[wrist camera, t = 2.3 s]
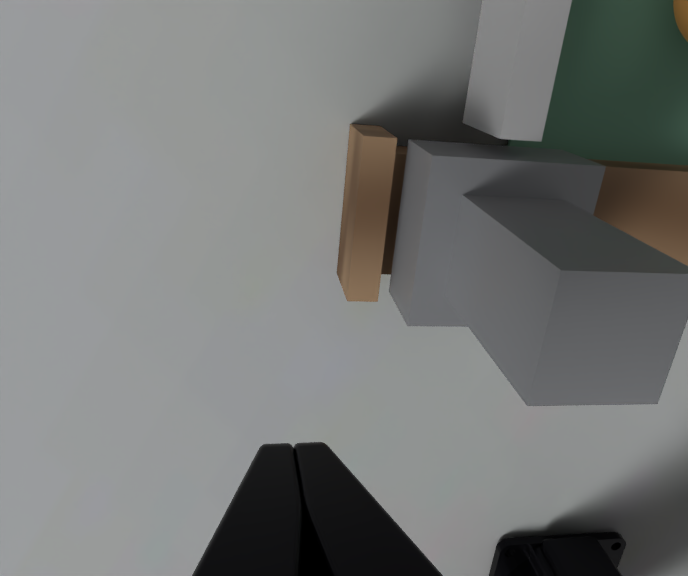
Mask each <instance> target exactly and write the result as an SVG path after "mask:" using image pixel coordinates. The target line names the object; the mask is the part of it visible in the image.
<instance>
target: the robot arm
mask: <svg viewBox="0 0 688 576" xmlns="http://www.w3.org/2000/svg"><path fill="white" fill-rule="evenodd" d="M625 545H626V542H625V540H624V539H623V538H622V536H621V535H620V534H619V533H617V532H609V533H591V534H573V535H556V536H538V537H521V538H507V539H503V540H502V541H500V542H499V543H498V544H497V546H496V550H495V554H494V558H493V562H492V566H491V570H490V574H489V576H622V575H621V573H620V572H619V571H618V569H617V567H618V564H619V562H620V559H621V556H622V554H623V551H624V548H625ZM192 576H443V575H442V574H441V573H440V572H439V571H438V570H437V569H436V567H435V566H434V565H433V564H432V563H431V562H430V561H429V560H428V558H427V557H426V556H425V555H424V554H423V553H422V552H421V550H420V549H419V548H418V547H417V546H416V545H415V544H414V543H413V541H412V540H411V539H410V538H409V537H408V536H407V535H406V534H405V532H404V531H403V530H402V529H401V528H400V527H399V526H398V525H397V523H396V522H395V521H394V520H393V519H392V518H391V517H390V515H389V514H388V513H387V512H386V511H385V510H384V509H383V508H382V506H381V505H380V504H379V503H378V502H377V501H376V500H375V499H374V497H373V496H372V495H371V494H370V493H369V492H368V491H367V490H366V488H365V487H364V486H363V485H362V484H361V483H360V482H359V480H358V479H357V478H356V477H355V476H354V475H353V474H352V473H351V471H350V470H349V469H348V468H347V467H346V466H345V465H344V464H343V462H342V461H341V460H340V459H339V458H338V457H337V456H336V455H335V453H334V452H333V451H332V450H331V449H330V448H329V447H328V446H327V445H326V444H325V443H323V442H310V443H297V444H296V445H295V446H294V448H293V447H292V445H291V444H288V443H281V444H264V445H262V446H261V447H260V448H259V450H258V452H257V454H256V456H255V458H254V459H253V461H252V463H251V465H250V467H249V469H248V471H247V473H246V475H245V476H244V478H243V480H242V482H241V484H240V486H239V488H238V490H237V492H236V493H235V495H234V497H233V499H232V501H231V503H230V505H229V507H228V509H227V511H226V512H225V514H224V516H223V518H222V520H221V522H220V524H219V526H218V528H217V529H216V531H215V533H214V535H213V537H212V539H211V541H210V543H209V545H208V547H207V548H206V550H205V552H204V554H203V556H202V558H201V560H200V562H199V564H198V565H197V567H196V569H195V571H194V573H193V575H192Z"/></svg>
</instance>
